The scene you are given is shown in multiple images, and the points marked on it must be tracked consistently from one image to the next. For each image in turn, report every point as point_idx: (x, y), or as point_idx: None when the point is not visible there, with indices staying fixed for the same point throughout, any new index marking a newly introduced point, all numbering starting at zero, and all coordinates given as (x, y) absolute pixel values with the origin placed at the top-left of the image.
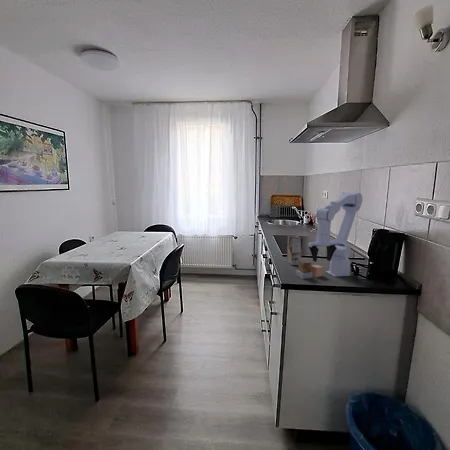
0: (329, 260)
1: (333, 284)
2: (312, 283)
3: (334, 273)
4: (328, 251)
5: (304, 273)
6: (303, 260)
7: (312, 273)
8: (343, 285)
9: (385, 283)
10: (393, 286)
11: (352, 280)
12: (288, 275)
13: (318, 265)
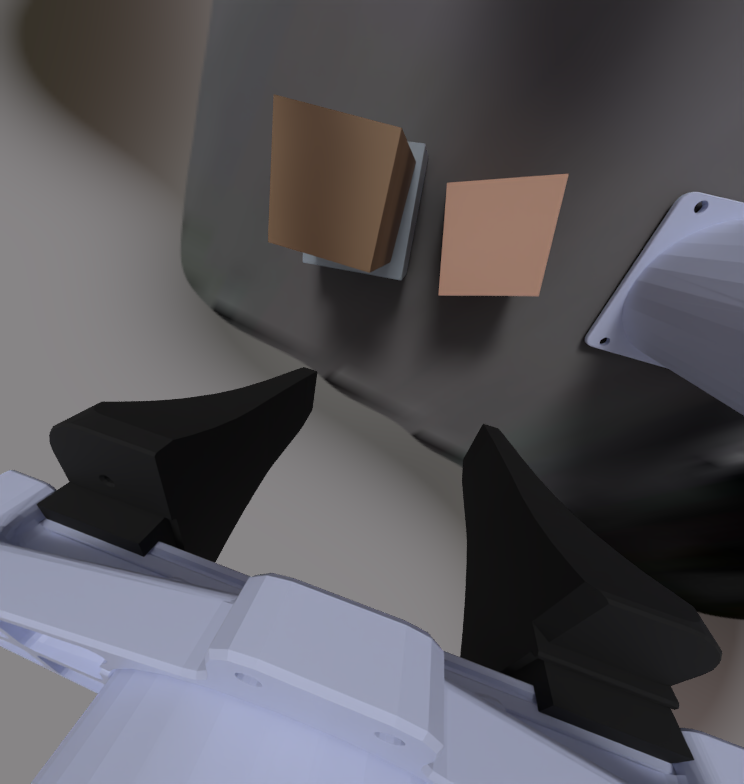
0: (464, 465)
1: (428, 418)
2: (329, 354)
3: (628, 324)
4: (498, 534)
5: (320, 264)
6: (345, 118)
7: (398, 278)
8: (465, 450)
9: (722, 547)
10: (690, 573)
11: (610, 438)
12: (257, 129)
13: (545, 224)
